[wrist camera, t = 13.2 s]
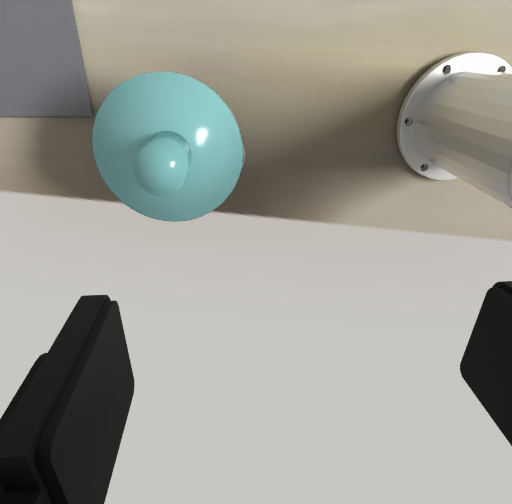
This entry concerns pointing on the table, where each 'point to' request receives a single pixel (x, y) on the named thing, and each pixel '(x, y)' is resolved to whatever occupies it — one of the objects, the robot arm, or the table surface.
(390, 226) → the table surface
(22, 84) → the mat
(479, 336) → the robot arm
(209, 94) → the lid
